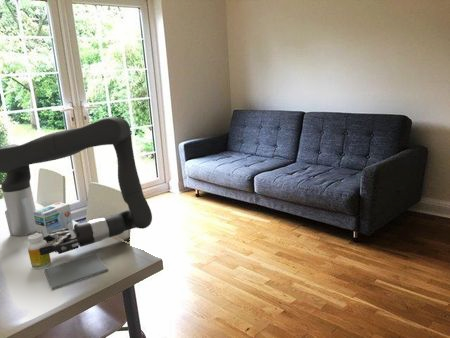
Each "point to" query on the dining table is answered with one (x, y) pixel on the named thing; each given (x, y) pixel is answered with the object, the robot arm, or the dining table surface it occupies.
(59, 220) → the light bulb box
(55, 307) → the dining table surface
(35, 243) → the supplement bottle
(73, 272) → the placemat
